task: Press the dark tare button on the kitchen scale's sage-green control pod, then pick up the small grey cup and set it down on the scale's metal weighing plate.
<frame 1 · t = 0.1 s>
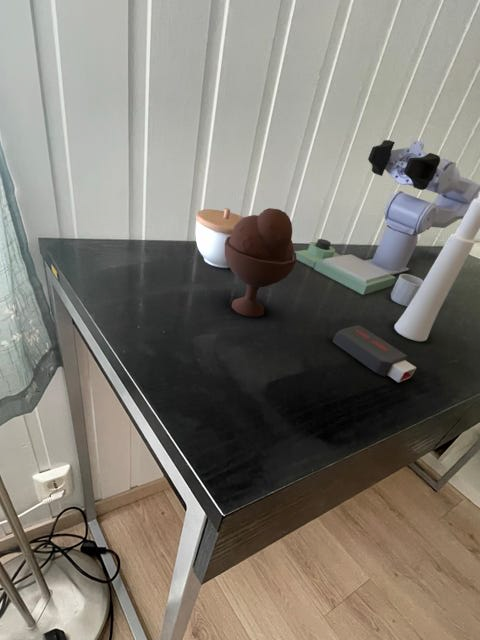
hand: (389, 159, 68), 22 cm above the table, tool horizontal, fingers open, 7 cm apart
grey cup: (402, 301, 79), on the table
cosmetic bottle: (409, 333, 68), on the table
trinket box: (219, 262, 75), on the table
scale: (353, 277, 83), on the table
tare button: (323, 244, 85), point 3 cm above the table, slide at 0.1 cm
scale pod: (318, 260, 88), on the table
usb drive: (370, 360, 57), on the table
ice cream bowl: (247, 309, 62), on the table
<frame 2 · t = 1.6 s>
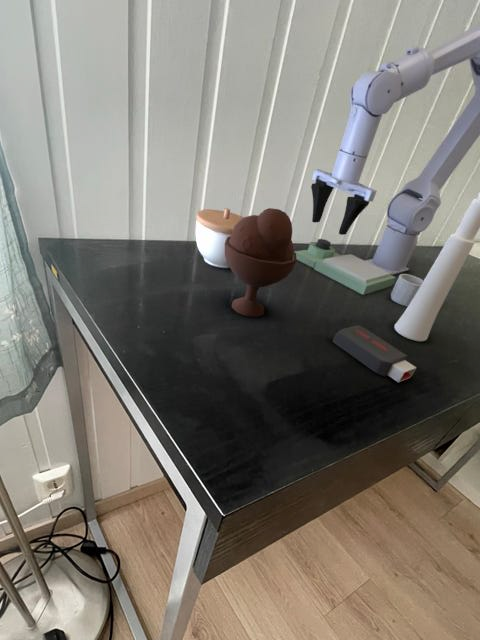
hand: (328, 227, 83), 7 cm above the table, tool pointing down, fingers open, 7 cm apart
nothing on the table moved.
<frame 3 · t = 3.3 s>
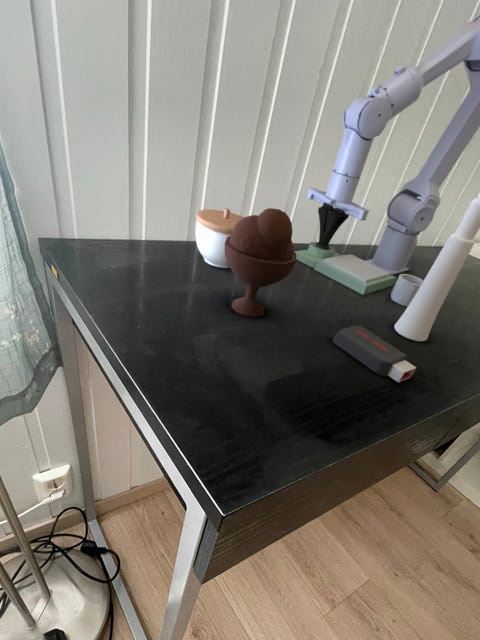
hand: (323, 244, 85), 4 cm above the table, tool pointing down, fingers closed, pressing on tare button
tare button: (322, 247, 86), point 3 cm above the table, slide at -0.5 cm, touching gripper
everything else where it was.
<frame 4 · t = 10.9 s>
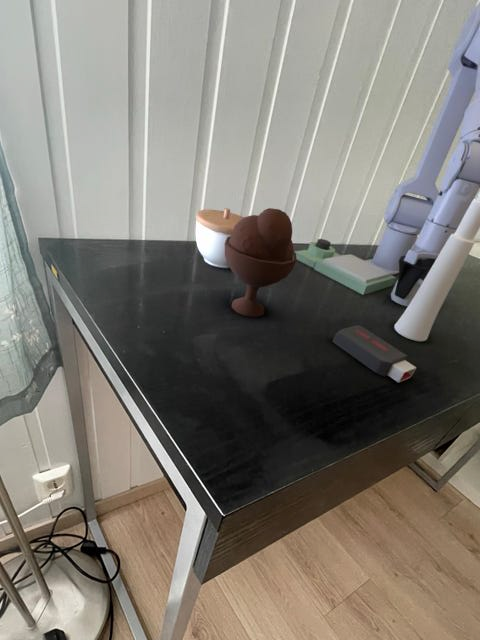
hand: (405, 294, 78), 1 cm above the table, tool pointing down, fingers closed on grey cup, 6 cm apart
grey cup: (402, 300, 79), on the table, touching gripper
tare button: (323, 244, 85), point 3 cm above the table, slide at 0.1 cm
everything else where it was.
when the fingers open (4 cm above the table, at t = 14.8 s): grey cup stays where it is, resting on scale.
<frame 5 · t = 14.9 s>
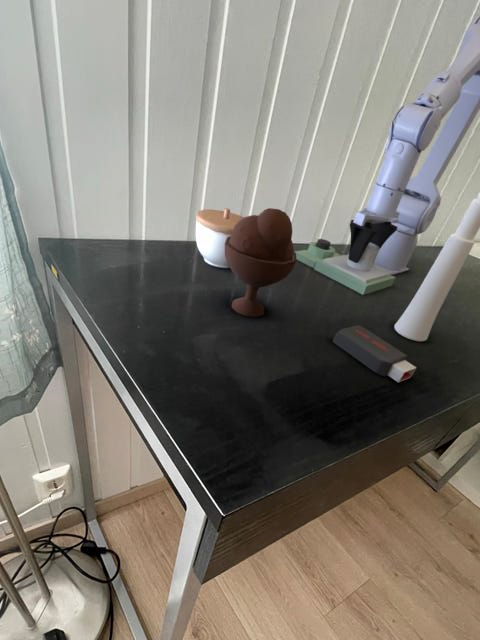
hand: (360, 259, 81), 4 cm above the table, tool pointing down, fingers open, 6 cm apart
grey cup: (358, 266, 82), point 3 cm above the table, touching scale
everything else where it was.
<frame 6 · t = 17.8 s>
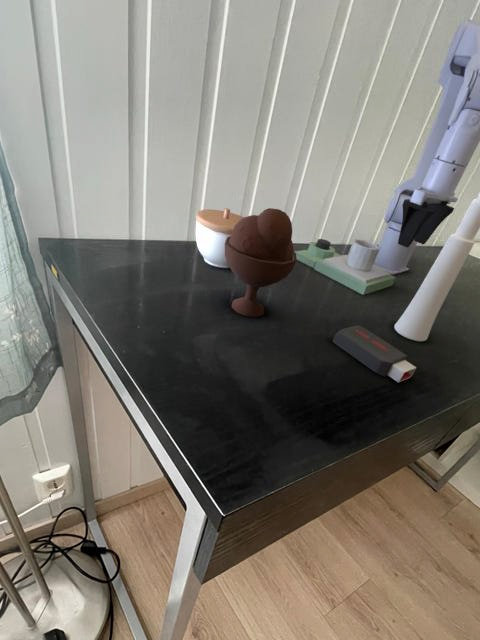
hand: (411, 244, 75), 10 cm above the table, tool pointing down, fingers open, 7 cm apart
nothing on the table moved.
at the end: tare button pushed in 1.0 cm at the most during the clip, back to where it started at the end; tare button slide at 0.1 cm; grey cup inside the target area on the scale (0.0 cm from its centre), point 2.6 cm above the scale's base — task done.
